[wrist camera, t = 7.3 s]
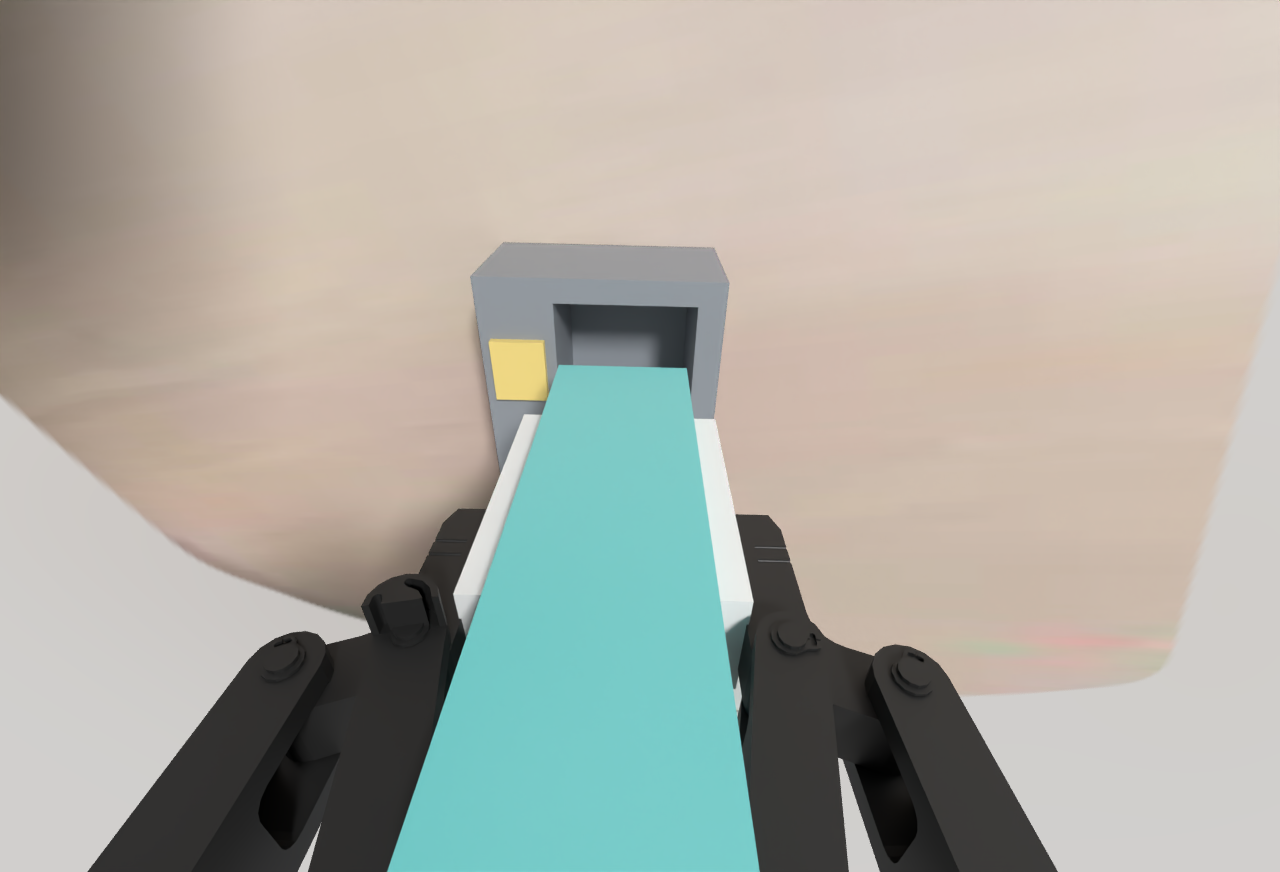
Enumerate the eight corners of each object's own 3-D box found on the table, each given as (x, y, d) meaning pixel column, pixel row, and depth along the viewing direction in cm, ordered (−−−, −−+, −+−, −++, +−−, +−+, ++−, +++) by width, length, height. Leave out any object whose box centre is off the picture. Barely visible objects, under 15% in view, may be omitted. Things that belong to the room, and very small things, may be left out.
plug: (558, 364, 16) (354, 970, 5) (686, 368, 16) (776, 981, 5) (565, 468, 19) (433, 1057, 7) (678, 471, 19) (727, 1066, 7)
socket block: (503, 242, 22) (467, 278, 18) (714, 247, 22) (730, 285, 18) (530, 483, 30) (510, 552, 25) (691, 487, 30) (699, 556, 25)
